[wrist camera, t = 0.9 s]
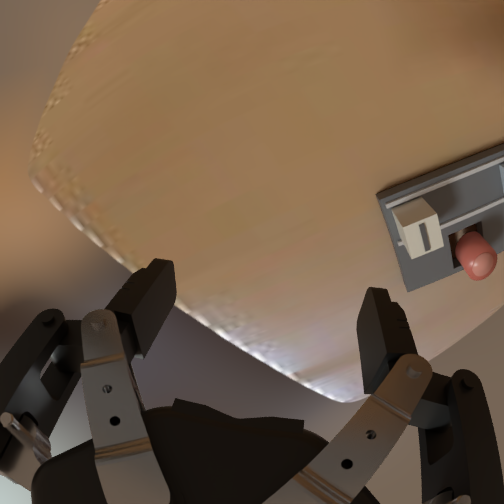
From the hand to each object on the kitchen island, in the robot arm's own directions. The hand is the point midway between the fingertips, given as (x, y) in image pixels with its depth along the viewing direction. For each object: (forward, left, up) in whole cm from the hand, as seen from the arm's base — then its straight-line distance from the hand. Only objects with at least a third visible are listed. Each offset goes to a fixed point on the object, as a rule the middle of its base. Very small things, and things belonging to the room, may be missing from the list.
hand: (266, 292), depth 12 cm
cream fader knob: (-10, +11, -22) cm, 27 cm away
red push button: (-17, +18, -22) cm, 33 cm away
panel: (-18, +15, -24) cm, 34 cm away
